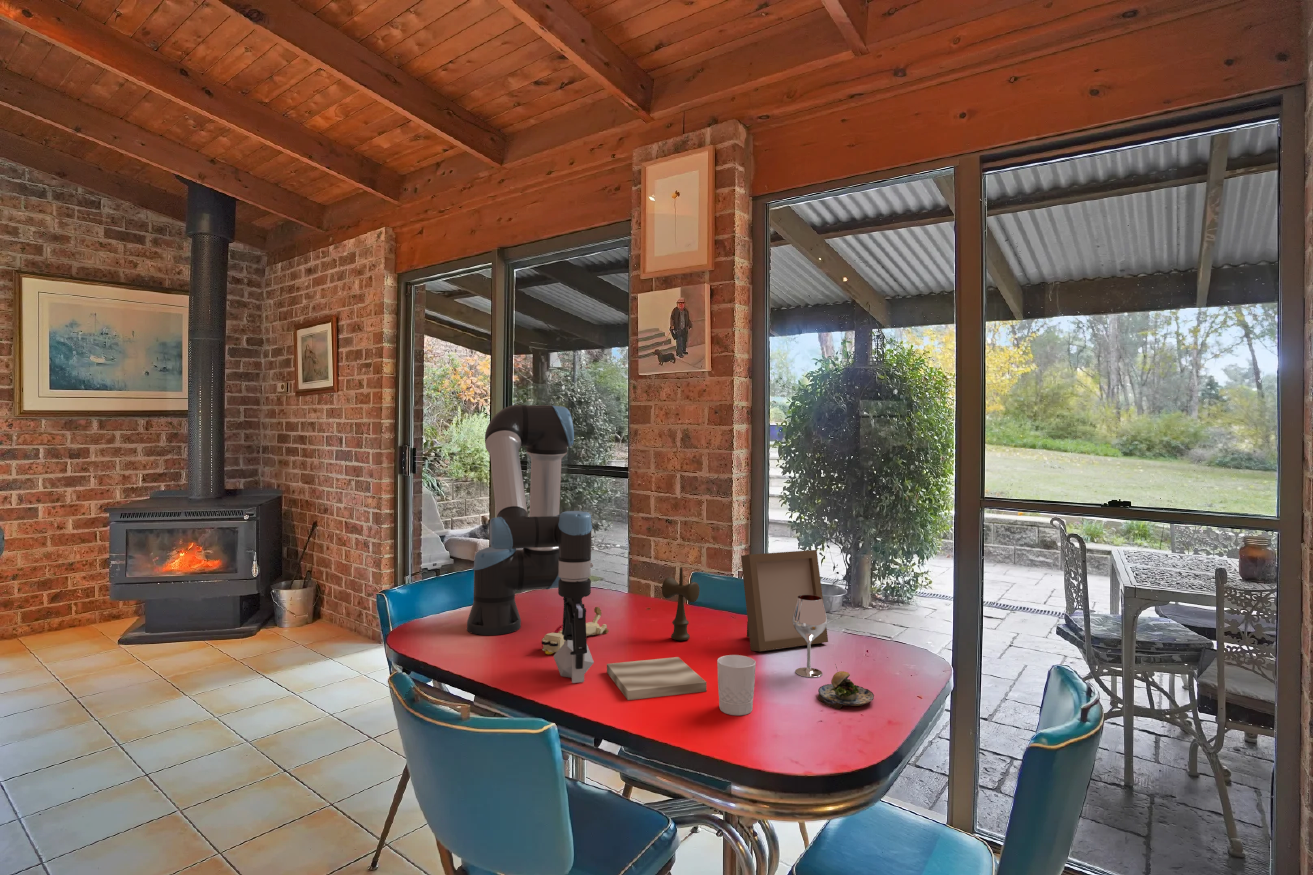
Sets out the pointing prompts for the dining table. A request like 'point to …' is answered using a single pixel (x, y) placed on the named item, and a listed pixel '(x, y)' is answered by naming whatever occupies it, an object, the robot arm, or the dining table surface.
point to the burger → (843, 692)
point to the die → (570, 659)
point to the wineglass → (809, 626)
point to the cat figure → (555, 639)
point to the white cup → (736, 684)
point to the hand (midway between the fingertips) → (573, 674)
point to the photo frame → (778, 596)
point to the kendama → (680, 603)
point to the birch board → (655, 678)
